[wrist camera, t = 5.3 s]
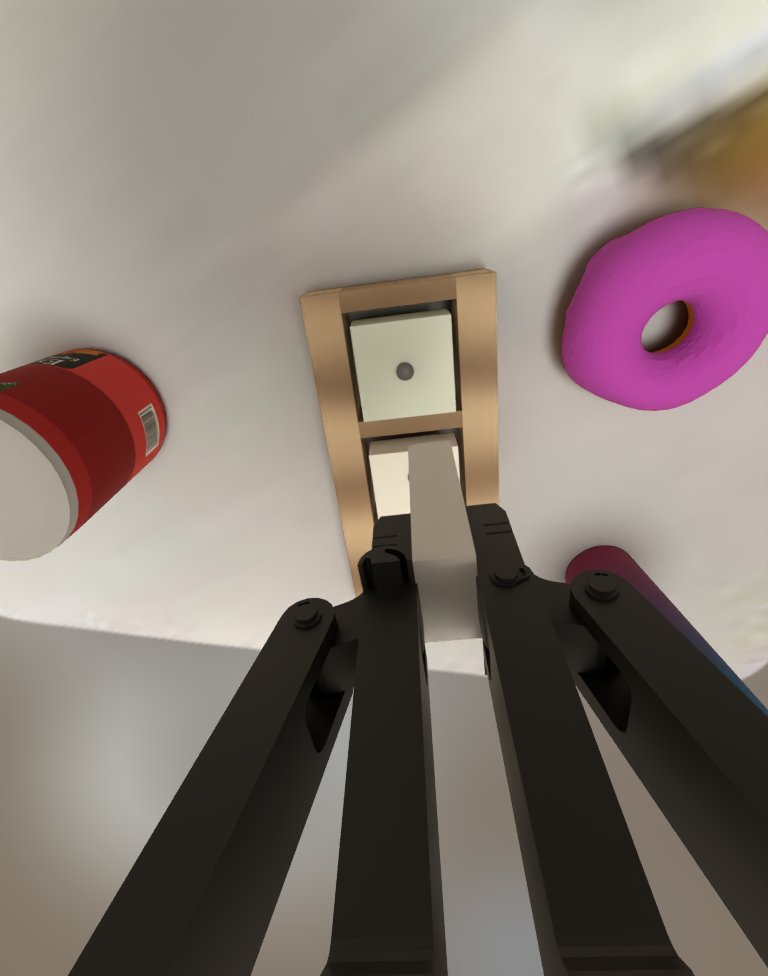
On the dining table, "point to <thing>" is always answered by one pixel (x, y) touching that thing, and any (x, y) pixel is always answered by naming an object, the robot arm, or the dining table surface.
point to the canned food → (70, 444)
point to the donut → (660, 281)
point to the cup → (652, 601)
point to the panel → (349, 430)
